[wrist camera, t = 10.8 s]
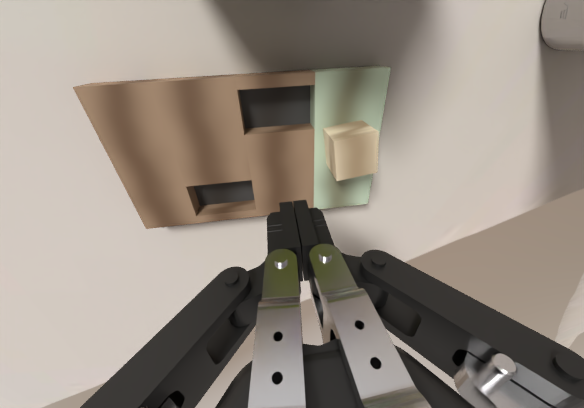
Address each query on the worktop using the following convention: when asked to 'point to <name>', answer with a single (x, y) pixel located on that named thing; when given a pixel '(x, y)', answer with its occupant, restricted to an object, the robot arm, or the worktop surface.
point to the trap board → (232, 140)
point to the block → (351, 149)
